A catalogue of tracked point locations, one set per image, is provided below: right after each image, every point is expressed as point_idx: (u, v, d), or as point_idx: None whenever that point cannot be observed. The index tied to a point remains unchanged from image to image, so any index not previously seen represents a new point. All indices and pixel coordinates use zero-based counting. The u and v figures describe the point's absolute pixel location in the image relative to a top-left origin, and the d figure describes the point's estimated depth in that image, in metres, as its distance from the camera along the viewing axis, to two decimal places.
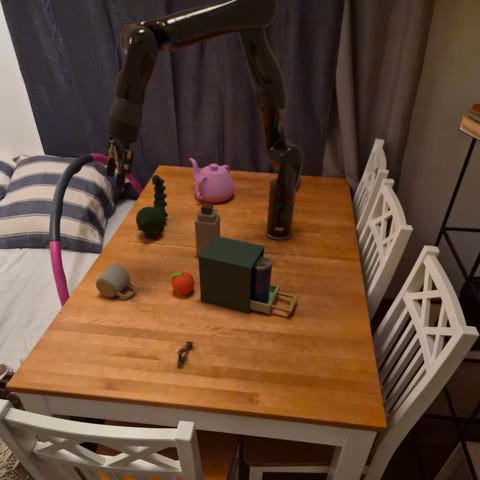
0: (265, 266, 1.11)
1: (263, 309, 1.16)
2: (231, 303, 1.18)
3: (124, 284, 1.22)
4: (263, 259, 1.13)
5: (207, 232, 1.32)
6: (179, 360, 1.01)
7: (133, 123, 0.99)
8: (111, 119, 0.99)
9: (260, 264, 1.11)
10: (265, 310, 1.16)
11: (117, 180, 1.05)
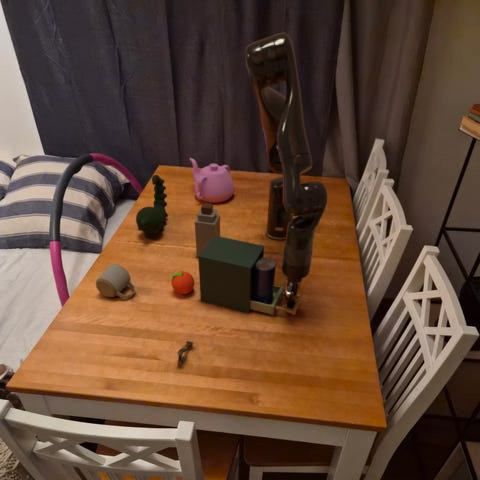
0: (269, 267, 1.10)
1: (267, 310, 1.16)
2: (231, 303, 1.18)
3: (124, 284, 1.22)
4: (267, 260, 1.13)
5: (207, 232, 1.32)
6: (179, 360, 1.01)
7: None
8: (310, 261, 1.07)
9: (264, 265, 1.11)
10: (269, 311, 1.16)
11: None
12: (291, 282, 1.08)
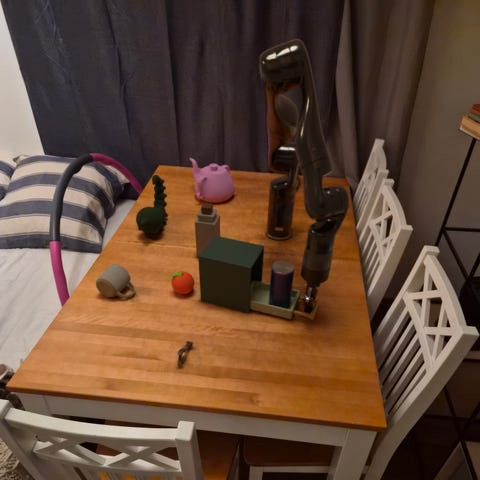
0: (288, 271, 1.09)
1: (285, 315, 1.15)
2: (231, 303, 1.18)
3: (124, 284, 1.22)
4: (285, 264, 1.12)
5: (207, 232, 1.32)
6: (179, 360, 1.01)
7: None
8: (330, 266, 1.06)
9: (283, 269, 1.10)
10: (287, 315, 1.15)
11: None
12: (310, 287, 1.07)
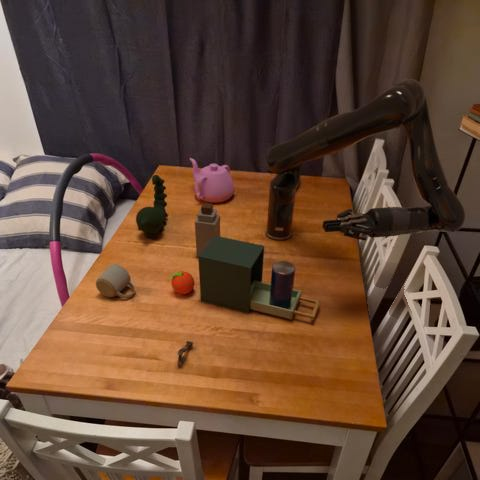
0: (289, 271, 1.09)
1: (286, 315, 1.14)
2: (231, 303, 1.18)
3: (124, 284, 1.22)
4: (286, 264, 1.11)
5: (207, 232, 1.32)
6: (179, 360, 1.01)
7: None
8: None
9: (283, 269, 1.10)
10: (287, 316, 1.14)
11: None
12: (371, 230, 1.03)
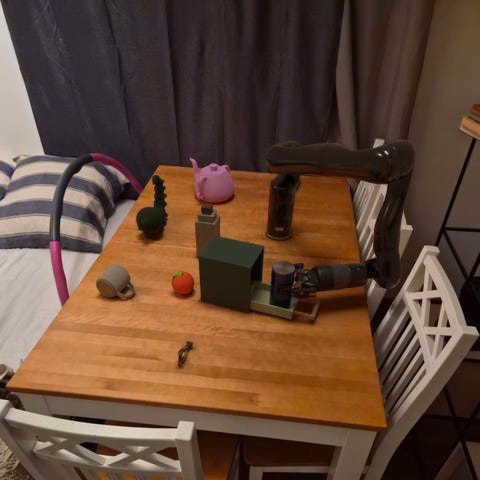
0: (289, 271, 1.09)
1: (286, 315, 1.14)
2: (231, 303, 1.18)
3: (124, 284, 1.22)
4: (286, 264, 1.11)
5: (207, 232, 1.32)
6: (179, 360, 1.01)
7: None
8: None
9: (283, 269, 1.10)
10: (287, 316, 1.14)
11: None
12: (314, 286, 1.12)
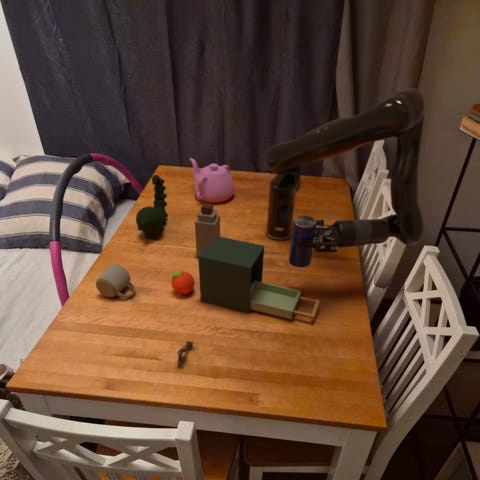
0: (310, 224, 1.07)
1: (286, 315, 1.14)
2: (231, 303, 1.18)
3: (124, 284, 1.22)
4: (307, 218, 1.10)
5: (207, 232, 1.32)
6: (179, 360, 1.01)
7: None
8: None
9: (305, 223, 1.08)
10: (287, 316, 1.14)
11: None
12: (336, 241, 1.11)
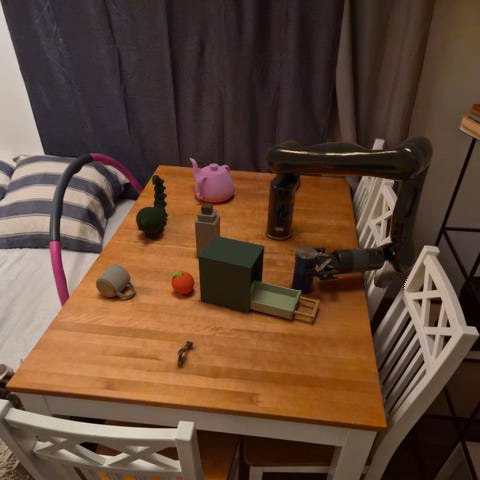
0: (312, 256, 1.17)
1: (286, 315, 1.14)
2: (231, 303, 1.18)
3: (124, 284, 1.22)
4: (309, 250, 1.20)
5: (207, 232, 1.32)
6: (179, 360, 1.01)
7: None
8: None
9: (307, 254, 1.18)
10: (287, 316, 1.14)
11: None
12: (335, 269, 1.20)
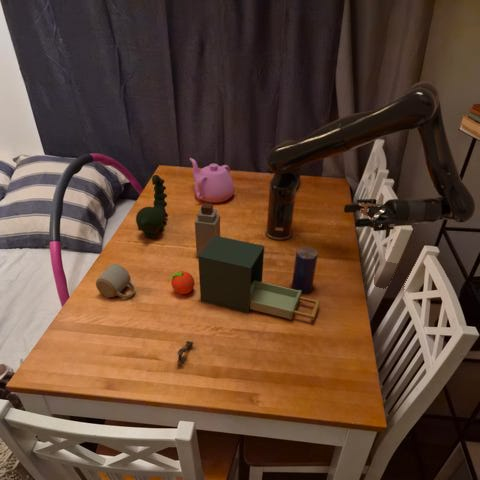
0: (312, 256, 1.17)
1: (286, 315, 1.14)
2: (231, 303, 1.18)
3: (124, 284, 1.22)
4: (309, 250, 1.20)
5: (207, 232, 1.32)
6: (179, 360, 1.01)
7: None
8: None
9: (307, 254, 1.18)
10: (287, 316, 1.14)
11: None
12: (390, 219, 1.12)
